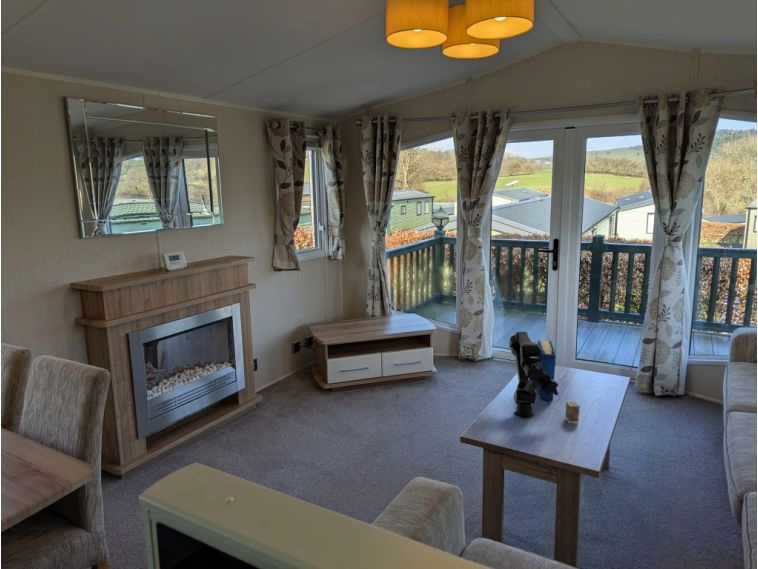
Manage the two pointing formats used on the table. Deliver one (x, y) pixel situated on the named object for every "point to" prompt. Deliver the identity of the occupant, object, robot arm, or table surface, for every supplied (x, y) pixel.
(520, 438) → the table surface
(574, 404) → the brown rectangular block
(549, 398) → the book
